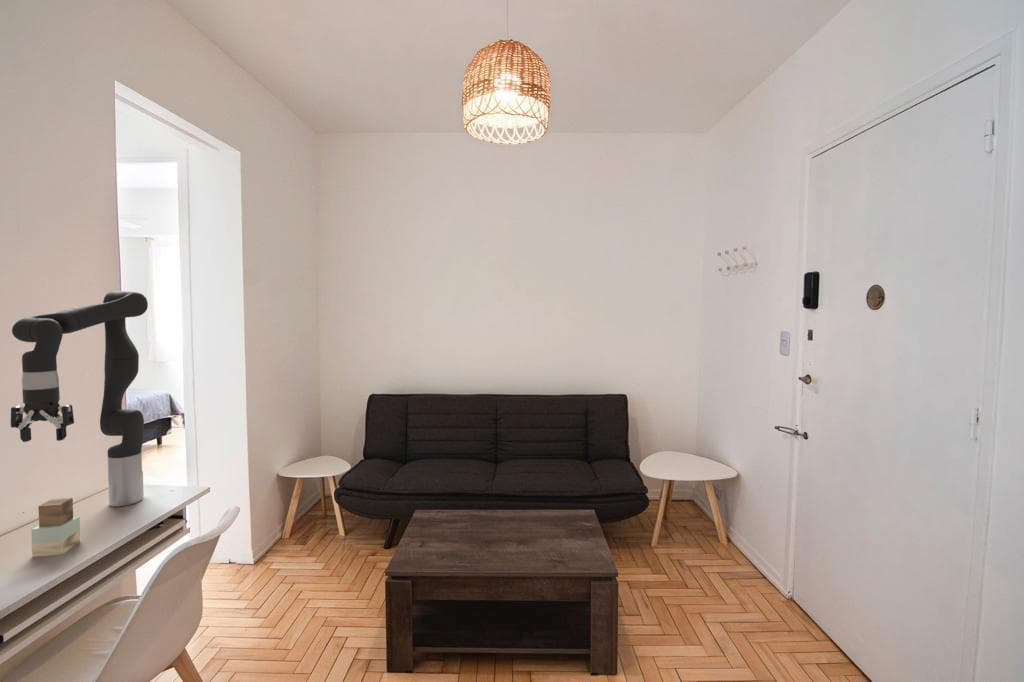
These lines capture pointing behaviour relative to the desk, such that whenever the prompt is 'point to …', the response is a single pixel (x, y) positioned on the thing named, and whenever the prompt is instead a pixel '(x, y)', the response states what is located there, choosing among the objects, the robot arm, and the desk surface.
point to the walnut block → (55, 512)
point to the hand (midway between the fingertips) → (43, 440)
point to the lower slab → (55, 546)
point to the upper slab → (55, 531)
